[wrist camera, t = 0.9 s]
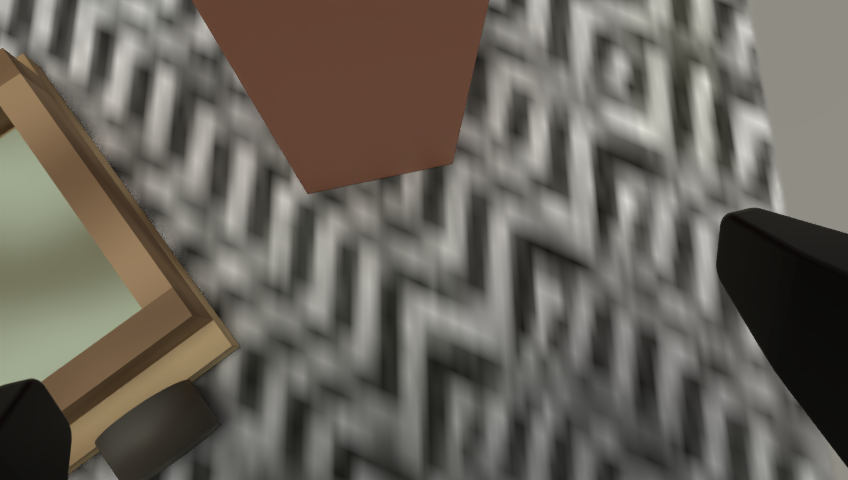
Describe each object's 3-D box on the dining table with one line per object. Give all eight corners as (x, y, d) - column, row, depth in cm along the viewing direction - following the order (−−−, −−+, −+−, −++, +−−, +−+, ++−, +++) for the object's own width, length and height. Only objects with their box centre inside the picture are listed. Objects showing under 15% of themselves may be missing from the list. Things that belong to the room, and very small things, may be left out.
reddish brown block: (452, 163, 23) (510, -95, 10) (307, 193, 22) (173, -31, 10) (420, 30, 23) (435, -366, 11) (280, 57, 23) (123, -317, 10)
